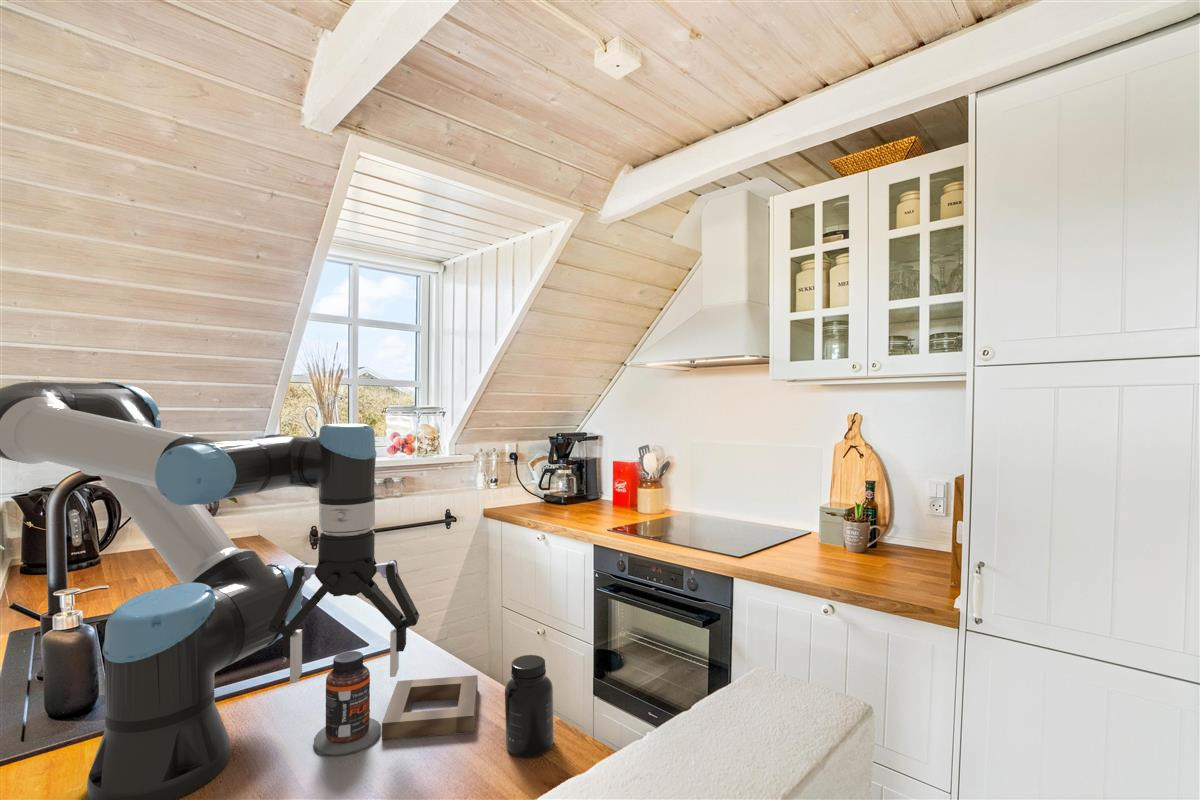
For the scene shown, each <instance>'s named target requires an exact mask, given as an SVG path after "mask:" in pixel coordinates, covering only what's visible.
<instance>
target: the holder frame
mask: <svg viewBox="0 0 1200 800" xmlns="http://www.w3.org/2000/svg"><path fill="white" fill-rule="evenodd" d="M478 676H479V675H476V674H475V675H464V676H462V675H460V676H446V677H433V678H419V679H407V680H406V679H405V680H397V682H396V684H395V686H394V690H393V691H392V695H391V697H390V700H389V702H388V706H387V708H386V712H385V713H384V716H383V719H382V721H381V741H388V740H389V739H390V740H402V738H404V739H413V737H414V738H424V737H425V738H426V737H427V738H428V737H436V736H445V735H446V736H447V735H461V734H471V733H475V732H474V731H475V721H476V712H477V711H476V709H477V701H478V686H479V685H478V684H479V683H478ZM457 699H458V702H457V704H458V705H457V707H456V708H446V709H445V708H444V709H435V710H433V709H432V710H430V709H429V710H421V711H419V710H417V711H409V710H410V707H411V704H412V703H420V702H431V701H432V702H434V701H444V700H445V701H446V700H457Z"/></svg>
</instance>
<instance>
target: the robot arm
mask: <svg viewBox="0 0 1200 800" xmlns="http://www.w3.org/2000/svg"><path fill="white" fill-rule="evenodd" d="M160 414H161V412H160V409H159V406H158V405H157V403H156V401H155V400H154V399H153V397H152V396H151V395H150V394H149V393H147V392H146V391H145V390H143V389H141V388H140V387H138V386H135V385H132V384H127V383H125V384H123V383H117V382H110V381H109V382H108V381H102V382H98V383H96V382H95V383H93V382H90V383H88V382H87V383H85V382H53V381H52V382H50V381H49V382H48V381H47V382H45V381H25V382H17V383H13V384H10V385H6V386H4V387H1V388H0V458H2V459H5V460H8V461H14V462H16V463H21V464H27V465H28V464H31V465H32V464H41V463H45V462H49V463H53V464H57V465H62V466H66V467H70V468H75V469H79V471H80V472H81V473H82V474H84V475H87V476H91V477H99V478H100V479H101V480H102V481H103V483H104V484H105V485H106V486H107V488H108V489H109V490H110V492H111V493H112V495H113V496H114V497H115V498H116V500H117V501H118V502H119V504H120V505H121V506H122V508H123V509H124V510H125V512H126V513H127V515H128V516H129V517H130V518H131V519H132V521H133V522H134V523H135V524H136V526H137V527H138V528H139V530H140V531H141V532H142V534H143V535H144V536H145V538H146V539H147V540H148V541H149V543H150V545H152V547H153V548H154V549H155V551H156V552H157V554H158V555H159V556H160V557H161V558H162V560H163V561H164V562H165V564H166V565H167V567H168V568H169V569H170V570H171V572H172V573H173V574H174V575H175V577H176V579H177V580H178V581H179V582H180V583H176V584H171V585H169V586H166V587H158V588H155V589H151V590H149V591H146V592H145V591H144V592H143V593H140V594H137V595H136V596H133V597H131V598H130V599H128V600H126V601H124V602H123V603H121V604H120V605H118V606H117V607H116V608H115V609H114V610H112V612H111V613H110V615H109V616H108V619H107V621H106V624H105V628H104V629H105V631H104V632H105V634H104V642H103V645H102V655H103V657H104V715H105V716H104V723H105V724H104V732H103V735H102V737H101V740H100V742H99V745H98V749H97V751H96V754H95V755H94V758H93V759H94V760H93V762H92V764H91V767H90V770H89V773H88V776H87V779H86V780H87V781H86V799H87V800H177V799H179V798H182V797H185V796H186V795H188V794H190V793H192V792H194V791H196V790H198V789H199V788H201V787H203V786H205V785H206V784H207V783H209V782H211V781H212V780H213V779H214V778H215V777H216V776H217V775H219V774H220V773H221V772H222V771H223V770H224V769H225V767H226V766H227V764H228V762H229V761H230V757H231V756H230V755H231V754H230V753H231V752H230V751H231V750H230V749H231V748H230V747H231V745H230V742H231V741H230V740H231V739H230V736H229V733H228V730H227V729H226V726H225V724H224V721H223V719H222V716H221V714H220V712H219V709H218V708H217V704H216V701H215V674H216V673H217V672H218V671H220V670H222V669H224V668H226V667H228V666H230V665H232V664H234V663H236V662H238V661H241V660H242V659H244V658H246V657H248V656H250V655H252V654H254V653H256V652H257V651H260V650H261V649H265V648H268V647H270V646H271V645H273V644H274V643H275V642H277V640H280V639H281V638H282V656H283V657H284V658H289V684H291V683H293V684H294V683H297V681H298V680H299V678H300V677H301V675H302V674H303V629H297V628H298V626H300V624H301V623H302V622H303V620H304V619H305V618H306V617H308V616H309V614H310V613H311V612H312V610H313V609H314V608H315V607H316V606H317V605H318V604H319V603H320V601H322V599H323V598H324V597H325V596H326V594H327V593H329V595H332V596H333V597H342V596H344V595H346V596H350V597H354V596H357V595H359V594H362V596H363V597H364V598H365V599H368V600H369V601H370V603H372V605H374V607H375V608H376V609H377V610H378V611H379V612H380V613H381V614H382V616H384V618H386V620H387V621H388V622H389V623H390V624H391V625H392V629H391V631H390V633H389V635H390V637H389V638H390V639H389V640H390V647H389V648H390V652H389V654H390V656H389V670H390V671H389V677H390V678H394V677H396V676H397V673H398V671H399V670H400V669H399V666H400V665H399V664H400V663H399V662H400V660H399V659H400V655H399V654H400V652H404V650H405V648H406V647H407V646H406V645H407V628H409V627H415V626H416V625H417V624H418V622H419V619H420V613H419V612H418V611H419V610H418V608H416V605H415V604H414V602H413V600H412V598H411V595H410V594H409V592H408V590H407V588H406V586H405V584H404V582H403V580H402V579H401V576H400V574H399V569H398V562H397V560H396V559H390V560H389V561H388V562H382V563H381V562H380V563H377V561H376V558H375V541H376V539H375V538H376V537H375V534H376V533H375V532H376V531H374V529H372V528H373V527H374V526H375V524H376V521H375V520H376V500H375V499H376V498H375V497H376V495H375V494H376V493H375V484H376V483H375V476H376V458H377V450H376V440H375V439H376V435H375V429H374V428H373V426H371V425H369V424H367V423H366V424H365V423H327V424H323V425H322V426H321V427H320V429H319V434H318V436H308V435H307V436H306V435H303V436H302V435H287V434H283V433H277V434H266V435H264V434H263V435H259V436H256V437H254V438H248V439H247V438H246V439H235V440H214V439H210V438H205V437H200V436H195V435H192V434H187V433H183V432H178V431H173V430H170V429H169V430H168V429H163V428H162V419H161V418H159V417H158V415H160ZM288 487H289V488H292V487H295V488H296V487H297V488H311V489H318V529H319V530H320V531H321V533H320V534H319V535H318V558H317V559H318V562H317V565H314V564H313V565H312V564H309V563H307V562H306V561H304V562H301V563H299V564H298V565H297V566H296V567H294V569H293V571H292V570H291V569H290V568H289V567H287V566H285V565H283V564H277V563H269V564H265V562H263V560H262V559H261V558H260V556H259V555H258V554H257V553H256V551H255V550H254V549H251V548H238V546H236V544H235V543H234V542H233V540H232V539H231V537H229V535H228V534H227V533H226V532H225V530H224V529H223V528H222V527H221V525H220V524H219V523H218V522H217V520H216V519H215V517H214V516H213V515H212V514H211V513H210V511H209V510H208V509H207V508H206V506H205V505H208V504H212V503H215V502H219V501H223V500H227V499H232V498H237V497H238V498H239V497H243V496H247V495H252V494H257V493H263V492H267V491H268V492H269V491H271V490H272V491H274V490H278V489H284V488H288ZM377 573H379V574H380V575H381V576H382V578H383V579H386V581H387V584H388V586H389V588H390V590H391V592H392V594H393V596H394V597H395V600H396V602H397V604H398V606H399V608H400V609H401V611H402V612H401V611H400V609H398V607H396V605H395V604H394V603H393V602H392V601H391V600H390V598H388V596H387V595H386V594H385V593H384V592H383V591H382V590H381V589H380V588H379V585H378V584H377V582H375V580H374V579H373V578H374V576H375V575H376V574H377ZM313 575H315V577H316V579H317V580H318V581H319V582H320V584H321V586H320V587H319V588H318V589H317V590H316V592H314V594H313V595H312V596H311V597H310V599H309V600H307V602H306V603H305V604H304V605H303V606H302V602H303V600H304V599H303V598H304V597H303V596H304V595H303V590H302V589H303V587H304V585H305V583H306V581H307V582H308V581H309V580H310V579H311V577H312V576H313Z"/></svg>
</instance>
